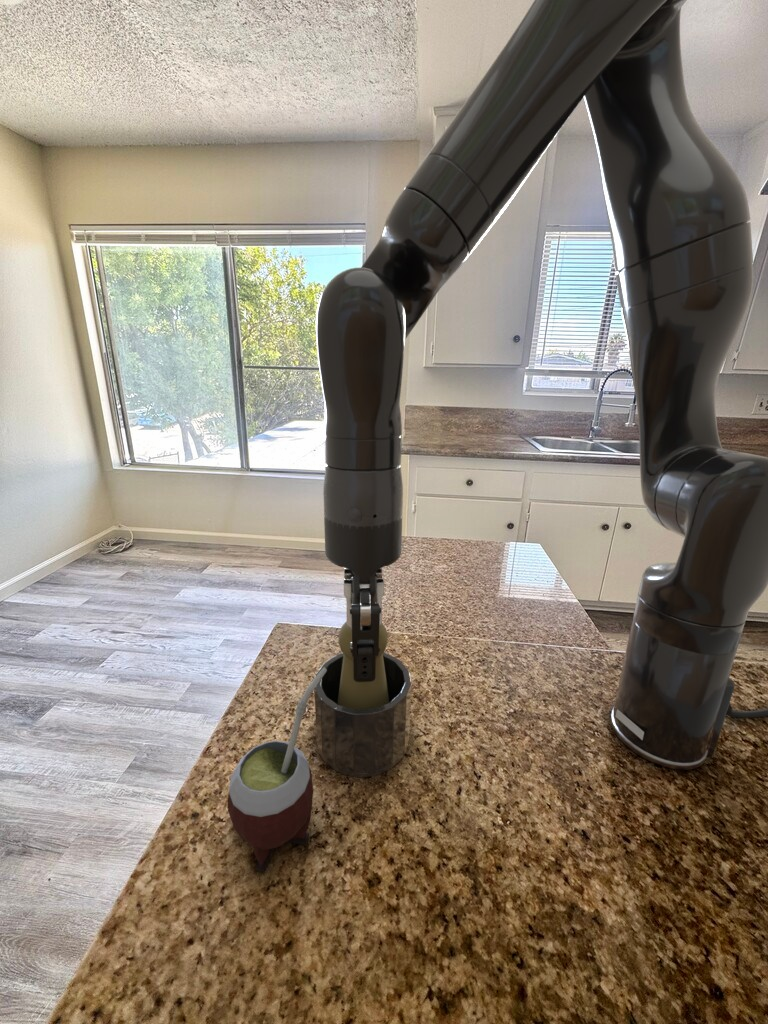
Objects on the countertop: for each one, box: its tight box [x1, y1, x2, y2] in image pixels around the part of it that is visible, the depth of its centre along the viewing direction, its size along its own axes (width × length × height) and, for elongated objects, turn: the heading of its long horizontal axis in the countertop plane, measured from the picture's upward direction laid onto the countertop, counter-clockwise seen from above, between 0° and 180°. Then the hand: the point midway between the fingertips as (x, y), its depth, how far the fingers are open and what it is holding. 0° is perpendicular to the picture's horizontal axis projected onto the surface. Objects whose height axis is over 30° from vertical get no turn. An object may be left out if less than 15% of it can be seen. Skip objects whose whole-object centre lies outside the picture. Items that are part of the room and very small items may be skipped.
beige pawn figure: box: [337, 620, 389, 709], centre depth 45 cm, size 6×6×11 cm
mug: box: [313, 651, 412, 778], centre depth 49 cm, size 14×10×8 cm
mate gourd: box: [227, 667, 327, 874], centre depth 36 cm, size 8×8×15 cm
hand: (363, 660), depth 45 cm, fingers closed on beige pawn figure, 5 cm apart
